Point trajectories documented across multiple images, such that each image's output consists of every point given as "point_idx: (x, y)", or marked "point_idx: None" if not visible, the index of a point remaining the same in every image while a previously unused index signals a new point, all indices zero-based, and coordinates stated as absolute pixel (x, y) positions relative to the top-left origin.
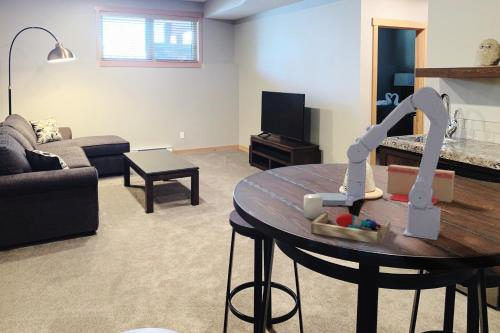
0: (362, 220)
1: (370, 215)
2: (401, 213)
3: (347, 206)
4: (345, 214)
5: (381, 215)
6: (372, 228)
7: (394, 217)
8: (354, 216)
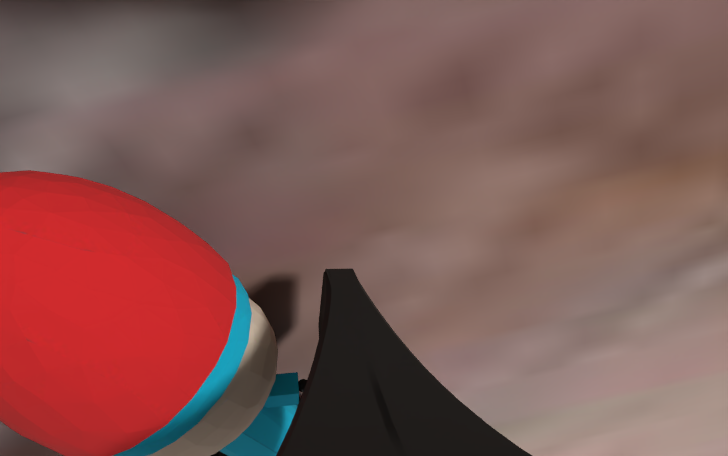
0: (234, 441)
1: (667, 313)
2: (706, 447)
3: (280, 446)
4: (35, 399)
5: (665, 374)
6: None
7: (616, 442)
8: (143, 452)
